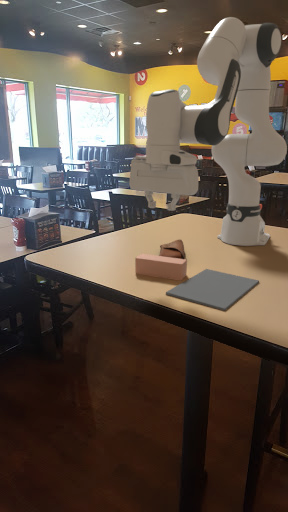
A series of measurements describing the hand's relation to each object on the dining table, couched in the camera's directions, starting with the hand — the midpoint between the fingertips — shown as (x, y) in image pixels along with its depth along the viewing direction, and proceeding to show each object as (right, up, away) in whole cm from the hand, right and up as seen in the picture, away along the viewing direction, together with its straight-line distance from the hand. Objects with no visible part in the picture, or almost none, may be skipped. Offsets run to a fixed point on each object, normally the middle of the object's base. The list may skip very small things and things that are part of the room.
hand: (161, 209), depth 103 cm
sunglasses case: (+2, -14, +22) cm, 26 cm away
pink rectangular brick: (0, -18, +6) cm, 19 cm away
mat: (+14, -21, -4) cm, 26 cm away
